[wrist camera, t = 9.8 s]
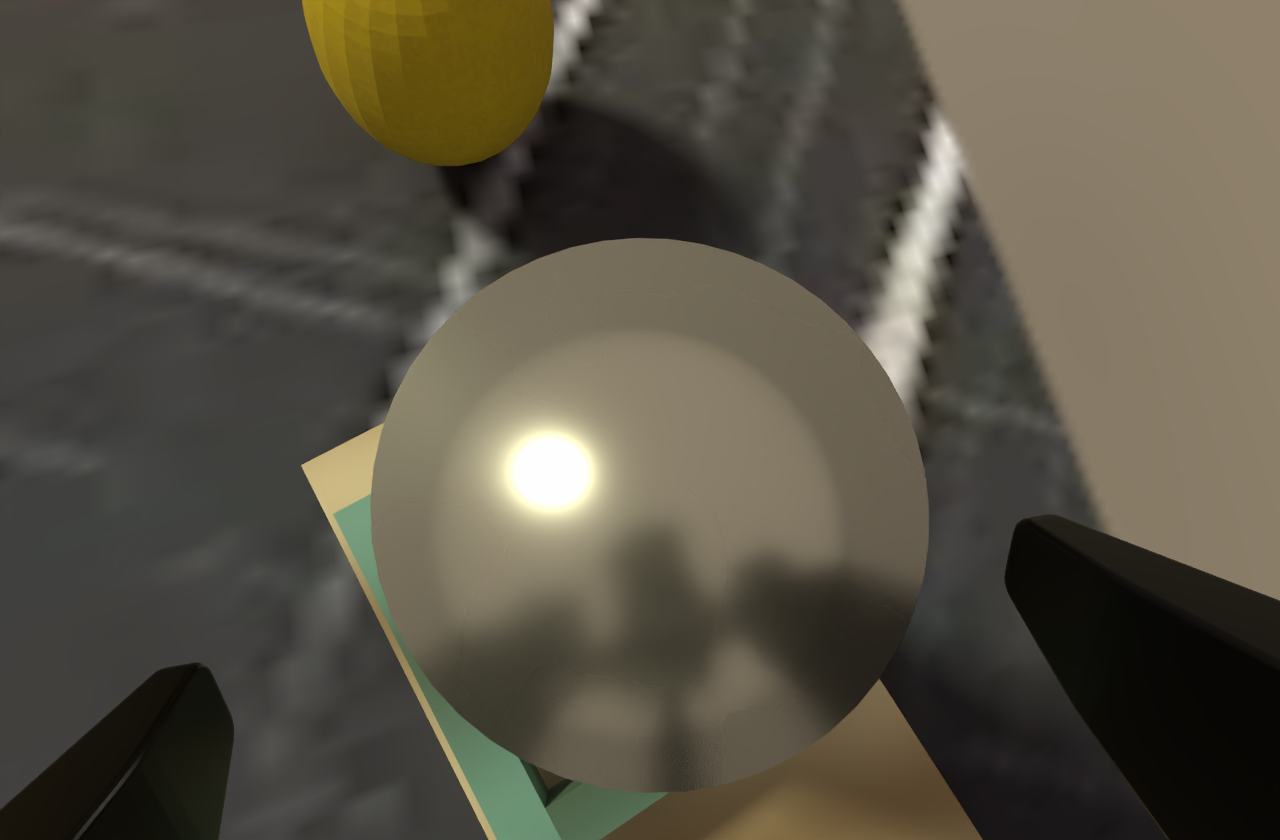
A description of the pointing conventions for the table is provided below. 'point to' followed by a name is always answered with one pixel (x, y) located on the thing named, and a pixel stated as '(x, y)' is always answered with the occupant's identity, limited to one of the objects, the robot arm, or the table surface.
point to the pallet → (663, 821)
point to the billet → (649, 515)
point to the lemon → (436, 71)
